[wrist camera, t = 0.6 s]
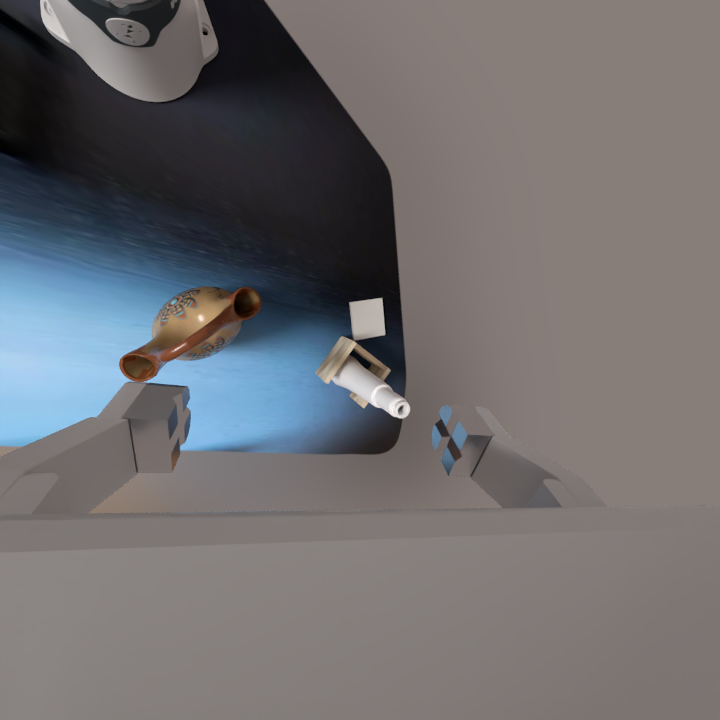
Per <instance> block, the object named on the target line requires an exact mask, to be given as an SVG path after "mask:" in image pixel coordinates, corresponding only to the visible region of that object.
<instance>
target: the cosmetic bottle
mask: <svg viewBox="0 0 720 720" xmlns="http://www.w3.org/2000/svg"><path fill="white" fill-rule="evenodd" d="M332 380H333V382H334V383H335V384H337V385H339V386H342V387H345V388H347V389H349V390H350V391H352V392H354V393H355V394H357V395H358V396H360V397H361V398H363V399H364V400H366V401H367V402H369V403H370V404H372V405H374V406H375V407H377V408H383V409H384V410H385V411H387V412H388V413H389V414H390V415H392V416H394V417H398V418H405V417H406V416H407V415H408V414H409V412H410V406H409V404H408V403H407V402H406V400H405V399H404V398H403V397H401V396H399V395H398V394H396V393H395V392H393V390H392V388H391V387H390V386H389V385H387V384H386V383H385V382H384V381H382V380H381V379H379V378H378V377H377V376H375V375H374V374H372V373H371V372H370V371H368V370H367V369H366V368H364V367H363V366H362V365H361V364H360V363H359V362H358V360H357V359H356V358H354V357H353V356H350V355H348V357H347V358H346V359H345V361H344V362H343V364H342V365H341V366H340V368H339V369H338V371H337V372H336V373H335V375H334V376H333V378H332Z"/></svg>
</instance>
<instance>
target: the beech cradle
mask: <svg viewBox="0 0 720 720" xmlns="http://www.w3.org/2000/svg"><path fill="white" fill-rule="evenodd" d="M352 350H354V351H355V352H356V353H358V354H359V355H360V356H361V357H363V358H364V359H365V360H367V361H368V362H369V363H371V366H370V367H369V369H368V371H370V372H371V373H372V374H374V375H375V376H377V377H378V378H379V379H381V380H382V381H384V380H385V378H386V377H387V375H388V374H389V372H390V371H391V370H390V369H389V368H388V367H386V366H385V365H384V364H383V363H381V362H380V361H379V360H377V359H376V358H375V357H374V356H372V355H371V354H370V353H368V352H367V351H366V350H365V349H363V348H362V347H361V346H359V345H358V344H357V343H356V342H354V341H353V340H350V339H348V338H345V337H343V336H341V338H340V339H339V340H338V342H337V343H336V345H335V346H334V347H333V349H332V350H331V351H330V353H329V354H328V356H327V357H326V358H325V360H324V361H323V363H322V364H321V365H320V367H319V368H318V370H317V371H316V372H315V373H316V374H317V375H318V376H319V377H320V378H321V379H322V380H323V381H324V382H326V383H327V384H328V383H329V382H330V380H331V379H332V378H333V376H334V375H335V373H336V372H337V371H338V369H339V368H340V366H341V365H342V364H343V362H344V361H345V359H346V358H347V357H348V355H349V354H350V352H351V351H352ZM349 396H350V397H351V398H352V399H353V400H354V401H356V402H357V403H358V404H359V405H360V406H361V407H363V408H365V407H366V405H367V404H368V402H367V401H366V400H364V399H363V398H361V397H360V396H358V395H357V394H355V393H354V392H352V393H351V394H350V395H349Z"/></svg>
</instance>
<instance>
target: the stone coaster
mask: <svg viewBox="0 0 720 720" xmlns="http://www.w3.org/2000/svg"><path fill="white" fill-rule="evenodd" d="M349 306H350V315H351V324H352V333H353V340H354V341H355V340H360V339H366V338H371V337H377V336H382V335H385V324H384V312H383V301H382V298H376V299H369V300H362V301H355V302H349Z"/></svg>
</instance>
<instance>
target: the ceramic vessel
mask: <svg viewBox="0 0 720 720" xmlns="http://www.w3.org/2000/svg"><path fill="white" fill-rule="evenodd" d="M261 307H262V300H261V297H260V295H259V294H258V292H257V291H255V290H254V289H252V288H250V287H242V288H239V289H238V290H236V291H235V292H234V293H231V292H229V291H227V290H225V289H222V288H218V287H198V288H193V289H190V290H187V291H184V292H182V293H180V294H178V295H176V296H175V297H173V298H172V299H170V300H169V301H168V302H167V303H166V304H165V305H164V306H163V307H162V308H161V309H160V311H159V312H158V314H157V315H156V317H155V319H154V322H153V326H152V338H153V339H152V340H151V341H150V342H148V343H147V344H145V345H144V346H142V347H140V348H138V349H136V350H134V351H132V352H130V353H127V354H126V355H124V356H123V357H122V358H121V359H120V363H119V366H120V369H121V371H122V373H123V374H124V375H125V376H126V377H127V378H129V379H130V380H133V381H136V382H144V381H147V380H149V379H151V378H153V377H155V376H156V375H157V373H158V372H159V370H160V369H161V368H162V367H163V366H164V365H165V364H166V363H167V362H169V361H171V360H174V359H176V360H182V361H193V360H200V359H204V358H207V357H210V356H212V355H214V354H216V353H218V352H220V351H221V350H223V349H224V348H225V347H227V346H228V345H229V344H230V343H231V342H232V341H233V340H234V339H235V337H236V336H237V334H238V333H239V331H240V329H241V326H242V323H243V321H245V320H248V319H250V318H252V317H253V316H255V315H256V314H257V313H258V312H259V311H260V309H261Z"/></svg>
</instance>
